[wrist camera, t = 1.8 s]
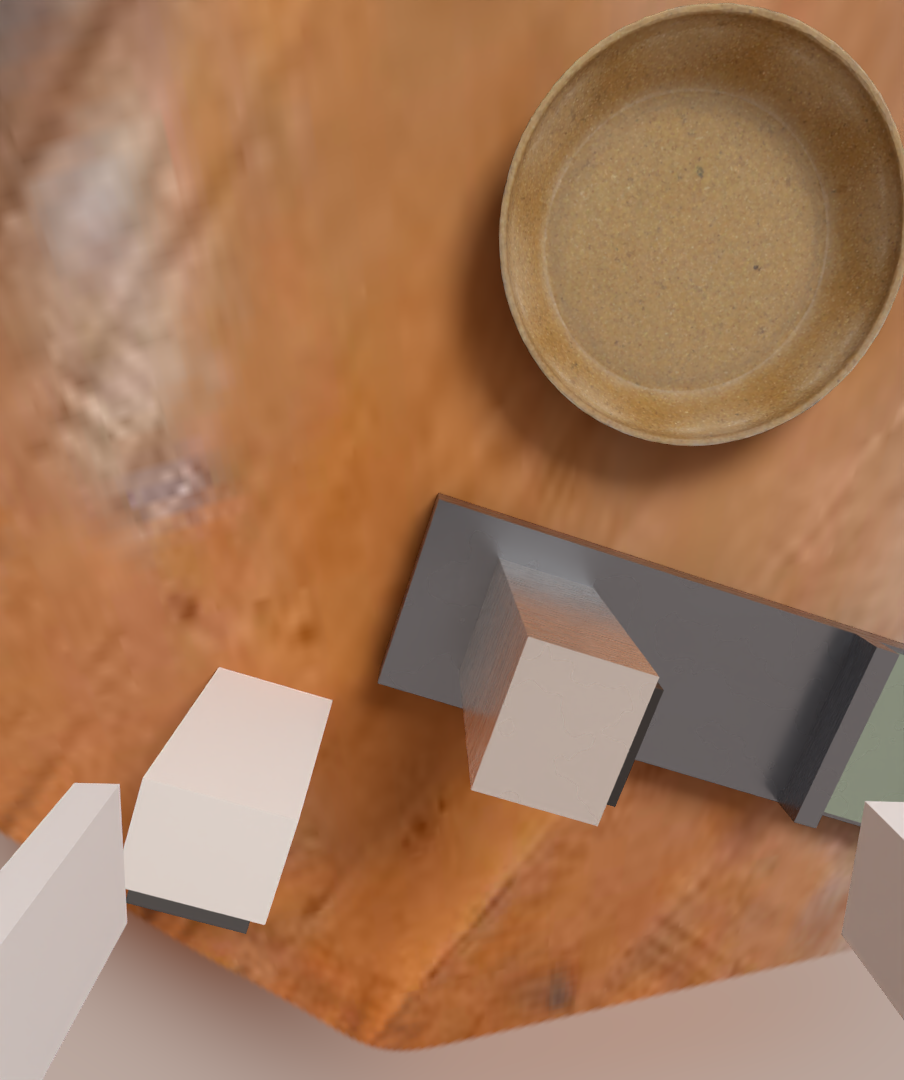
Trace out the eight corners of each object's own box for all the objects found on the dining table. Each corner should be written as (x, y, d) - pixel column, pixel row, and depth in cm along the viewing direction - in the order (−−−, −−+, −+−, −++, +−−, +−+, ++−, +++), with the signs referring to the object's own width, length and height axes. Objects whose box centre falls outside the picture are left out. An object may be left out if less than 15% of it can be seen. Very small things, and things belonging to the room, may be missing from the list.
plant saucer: (461, 74, 28) (464, 46, 26) (859, -2, 28) (902, -39, 26) (525, 469, 32) (534, 478, 29) (882, 402, 31) (923, 406, 29)
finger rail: (379, 668, 33) (358, 806, 23) (438, 492, 31) (443, 555, 21) (959, 842, 36) (1173, 1034, 25) (1041, 688, 34) (1303, 827, 24)
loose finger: (219, 667, 33) (143, 777, 24) (332, 700, 33) (298, 820, 24) (192, 759, 34) (109, 898, 25) (303, 790, 34) (260, 937, 25)
